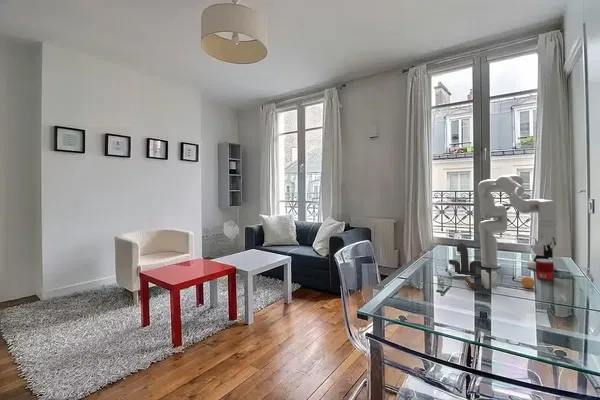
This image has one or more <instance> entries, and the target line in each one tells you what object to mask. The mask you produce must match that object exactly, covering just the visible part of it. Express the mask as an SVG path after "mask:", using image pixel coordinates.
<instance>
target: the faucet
mask: <svg viewBox="0 0 600 400" xmlns="http://www.w3.org/2000/svg"><path fill="white" fill-rule="evenodd" d="M456 252H457V253H459V254H460V262H459V261H458V260H456V259H449V260H448V264H449V265H451V266H454V270H455V272H457V273H458V274H465V275H471V276H478V277H477V278H481V272H479V271H478V270H477V269H476V267H482V266H481V265H482V263H481V260H472V261H470V263H469V250H468V246H467V245H466V243H464V242H463V241H462V242H459V243H457V244H456Z"/></svg>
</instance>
